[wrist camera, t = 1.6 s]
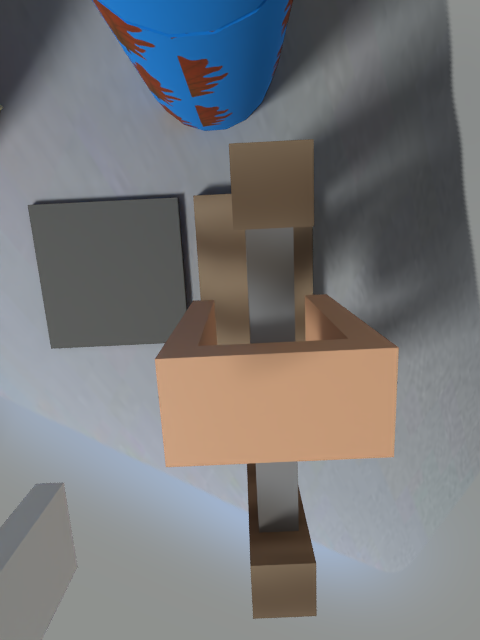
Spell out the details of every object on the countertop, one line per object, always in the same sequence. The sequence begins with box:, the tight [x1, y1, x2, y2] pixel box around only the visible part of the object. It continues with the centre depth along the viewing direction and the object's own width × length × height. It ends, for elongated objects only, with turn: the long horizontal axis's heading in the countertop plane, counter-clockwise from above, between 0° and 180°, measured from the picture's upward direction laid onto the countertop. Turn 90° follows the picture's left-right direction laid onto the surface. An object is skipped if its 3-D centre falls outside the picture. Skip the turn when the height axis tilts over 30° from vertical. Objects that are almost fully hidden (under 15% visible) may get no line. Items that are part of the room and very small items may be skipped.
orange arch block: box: [155, 294, 399, 467], centre depth 23 cm, size 5×10×14 cm, turn 93°
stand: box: [193, 139, 316, 619], centre depth 26 cm, size 21×10×21 cm, turn 3°
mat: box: [28, 198, 187, 349], centre depth 36 cm, size 13×13×1 cm
